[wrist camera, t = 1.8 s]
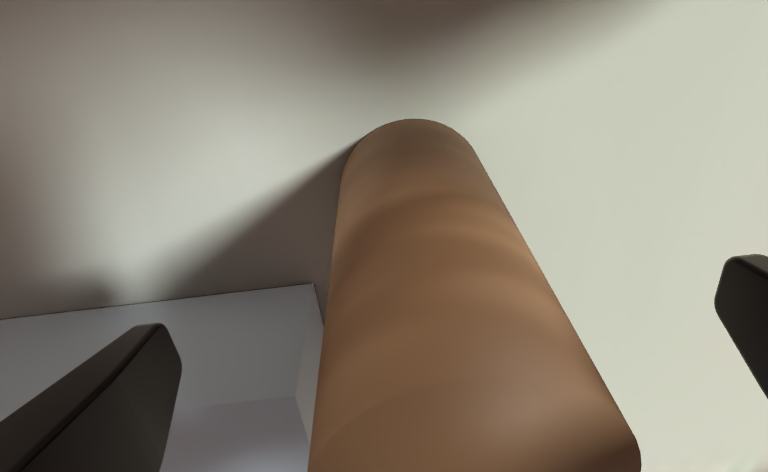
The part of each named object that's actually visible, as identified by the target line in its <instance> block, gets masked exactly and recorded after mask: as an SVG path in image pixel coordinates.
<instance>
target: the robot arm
mask: <svg viewBox="0 0 768 472" xmlns="http://www.w3.org/2000/svg"><path fill="white" fill-rule="evenodd" d="M714 304H715V309H716V312H717V314H718V316H719V318H720V320H721V321H722V323H723V325H724V327H725V328H726V330H727V332H728V333H729V335H730V337H731V338H732V340H733V342H734V343H735V345H736V347H737V349H738V350H739V352H740V354H741V355H742V357H743V359H744V360H745V362H746V364H747V365H748V367H749V369H750V371H751V372H752V374H753V376H754V377H755V379H756V381H757V382H758V384H759V386H760V387H761V389H762V390H763V392H764V394H765V395H766V397H767V398H768V257H767V256H764V255H760V254H751V255H742V256H734V257H731V258H729V259H728V260H727V261H726V262H725V264H724V267H723V270H722V274H721V277H720V281H719V284H718V288H717V291H716V295H715V299H714ZM181 374H182V362H181V358H180V355H179V353H178V351H177V349H176V347H175V344H174V342H173V340H172V338H171V336H170V333H169V331H168V329H167V328H166V326H165V325H164V324H162V323H159V322H156V323H147V324H139V325H136V326H134V327H132V328H131V329H129V330H128V331H126V332H125V333H124V334H122V335H121V336H119V337H118V338H117V339H115V340H114V341H112V342H111V343H110V344H108V345H107V346H105V347H104V348H103V349H101V350H100V351H98V352H97V353H96V354H94V355H93V356H91V357H90V358H89V359H87V360H86V361H84V362H83V363H82V364H80V365H79V366H77V367H76V368H75V369H73V370H72V371H70V372H69V373H68V374H66V375H65V376H63V377H62V378H61V379H59V380H58V381H56V382H55V383H54V384H52V385H51V386H49V387H48V388H47V389H45V390H44V391H42V392H41V393H40V394H38V395H37V396H35V397H34V398H33V399H31V400H30V401H28V402H27V403H26V404H24V405H23V406H21V407H20V408H19V409H17V410H16V411H14V412H13V413H12V414H10V415H9V416H7V417H6V418H4V419H3V420H2V421H0V472H159V471H160V468H161V465H162V461H163V457H164V453H165V449H166V445H167V440H168V436H169V431H170V426H171V422H172V417H173V412H174V407H175V403H176V398H177V393H178V389H179V384H180V379H181Z"/></svg>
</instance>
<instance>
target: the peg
mask: <svg viewBox="0 0 768 472" xmlns="http://www.w3.org/2000/svg"><path fill="white" fill-rule="evenodd" d="M307 472H641V455H640V450H639V447H638V444H637V441H636V438H635V436H634V435H633V433H632V431H631V429H630V427H629V426H628V424H627V422H626V420H625V419H624V417H623V415H622V413H621V411H620V410H619V408H618V406H617V404H616V402H615V401H614V399H613V397H612V395H611V394H610V392H609V390H608V388H607V386H606V385H605V383H604V381H603V379H602V378H601V376H600V374H599V372H598V370H597V369H596V367H595V365H594V363H593V361H592V360H591V358H590V356H589V354H588V353H587V351H586V349H585V347H584V345H583V344H582V342H581V340H580V338H579V336H578V335H577V333H576V331H575V329H574V328H573V326H572V324H571V322H570V320H569V319H568V317H567V315H566V313H565V312H564V310H563V308H562V306H561V304H560V303H559V301H558V299H557V297H556V295H555V294H554V292H553V290H552V288H551V287H550V285H549V283H548V281H547V279H546V278H545V276H544V274H543V272H542V270H541V269H540V267H539V265H538V263H537V262H536V260H535V258H534V256H533V254H532V253H531V251H530V249H529V247H528V246H527V244H526V242H525V240H524V238H523V237H522V235H521V233H520V231H519V229H518V228H517V226H516V224H515V222H514V221H513V219H512V217H511V215H510V213H509V212H508V210H507V208H506V206H505V204H504V203H503V201H502V199H501V197H500V196H499V194H498V192H497V190H496V188H495V187H494V185H493V183H492V181H491V179H490V178H489V176H488V174H487V172H486V171H485V169H484V167H483V165H482V163H481V162H480V160H479V158H478V156H477V155H476V153H475V151H474V149H473V148H472V146H471V145H470V144H469V143H468V141H467V140H466V139H465V138H464V137H462V136H461V135H460V134H459V133H457V132H456V131H455V130H453V129H452V128H450V127H448V126H446V125H444V124H441V123H438V122H435V121H430V120H425V119H404V120H399V121H394V122H391V123H388V124H385V125H383V126H381V127H379V128H377V129H375V130H374V131H372V132H371V133H369V134H368V135H367V136H365V137H364V138H363V139H362V140H361V141H360V142H359V143H358V144H357V145H356V146H355V147H354V149H353V150H352V152H351V153H350V155H349V157H348V159H347V161H346V163H345V165H344V168H343V171H342V176H341V182H340V191H339V200H338V208H337V217H336V226H335V234H334V243H333V252H332V260H331V269H330V278H329V286H328V295H327V304H326V313H325V321H324V330H323V339H322V347H321V356H320V365H319V373H318V382H317V391H316V400H315V408H314V417H313V426H312V434H311V443H310V452H309V460H308V469H307Z"/></svg>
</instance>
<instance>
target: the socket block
mask: <svg viewBox="0 0 768 472" xmlns="http://www.w3.org/2000/svg"><path fill="white" fill-rule="evenodd" d="M156 322H159V323H162V324H164V325H165V326H166V328H167V329H168V331H169V333H170V336H171V338H172V340H173V342H174V344H175V347H176V349H177V351H178V353H179V355H180V358H181V362H182V374H181V379H180V384H179V389H178V393H177V398H176V403H175V407H174V412H173V417H172V422H171V426H170V431H169V436H168V440H167V445H166V449H165V453H164V457H163V461H162V465H161V468H160V471H159V472H307V469H308V460H309V452H310V443H311V434H312V426H313V417H314V408H315V400H316V391H317V382H318V373H319V365H320V356H321V347H322V339H323V330H324V326H323V322H322V318H321V313H320V309H319V305H318V301H317V296H316V292H315V288H314V284H304V285H295V286H287V287H278V288H270V289H261V290H253V291H244V292H235V293H227V294H218V295H210V296H201V297H192V298H184V299H175V300H167V301H158V302H149V303H141V304H132V305H124V306H115V307H106V308H98V309H89V310H81V311H72V312H63V313H55V314H46V315H38V316H29V317H20V318H12V319H3V320H0V421H2V420H3V419H4V418H6V417H7V416H9V415H10V414H12V413H13V412H14V411H16V410H17V409H19V408H20V407H21V406H23V405H24V404H26V403H27V402H28V401H30V400H31V399H33V398H34V397H35V396H37V395H38V394H40V393H41V392H42V391H44V390H45V389H47V388H48V387H49V386H51V385H52V384H54V383H55V382H56V381H58V380H59V379H61V378H62V377H63V376H65V375H66V374H68V373H69V372H70V371H72V370H73V369H75V368H76V367H77V366H79V365H80V364H82V363H83V362H84V361H86V360H87V359H89V358H90V357H91V356H93V355H94V354H96V353H97V352H98V351H100V350H101V349H103V348H104V347H105V346H107V345H108V344H110V343H111V342H112V341H114V340H115V339H117V338H118V337H119V336H121V335H122V334H124V333H125V332H126V331H128V330H129V329H131V328H132V327H134V326H136V325H139V324H147V323H156Z"/></svg>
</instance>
